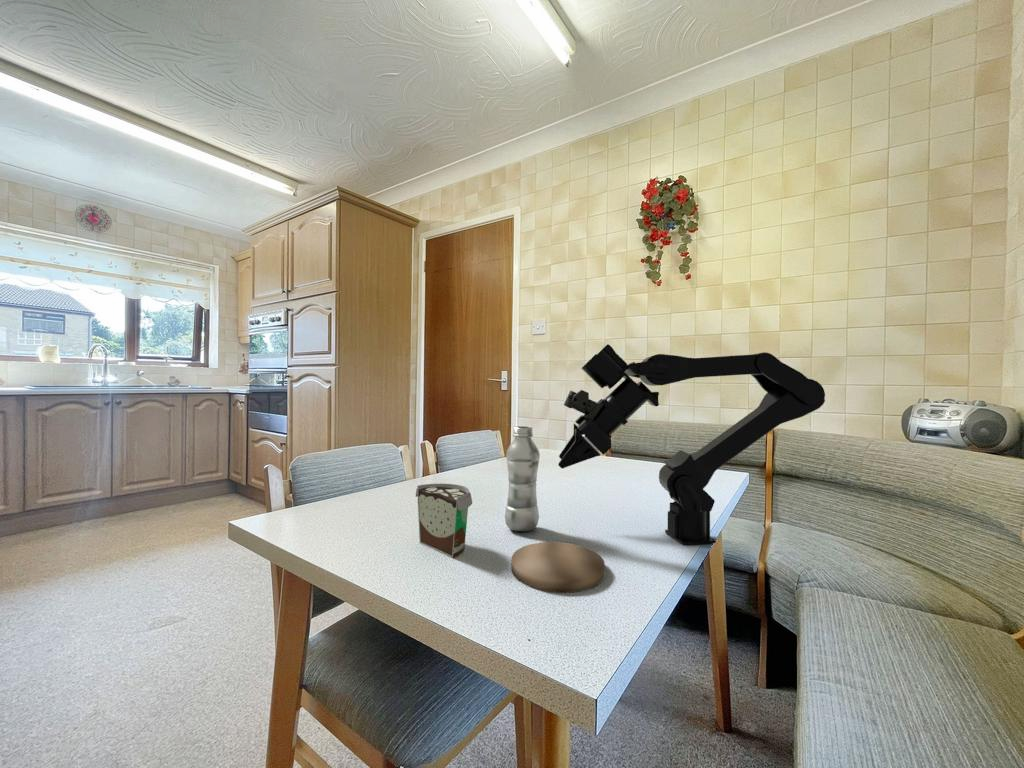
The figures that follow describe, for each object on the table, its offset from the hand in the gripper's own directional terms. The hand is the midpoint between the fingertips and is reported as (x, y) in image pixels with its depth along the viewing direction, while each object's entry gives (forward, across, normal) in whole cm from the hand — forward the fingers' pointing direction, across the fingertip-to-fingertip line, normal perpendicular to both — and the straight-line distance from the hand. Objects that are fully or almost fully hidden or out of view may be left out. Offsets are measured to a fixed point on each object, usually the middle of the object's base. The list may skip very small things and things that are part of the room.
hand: (560, 462), depth 77 cm
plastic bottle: (+15, 0, +4) cm, 15 cm away
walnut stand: (+10, +17, +9) cm, 21 cm away
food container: (+23, +10, -4) cm, 25 cm away
